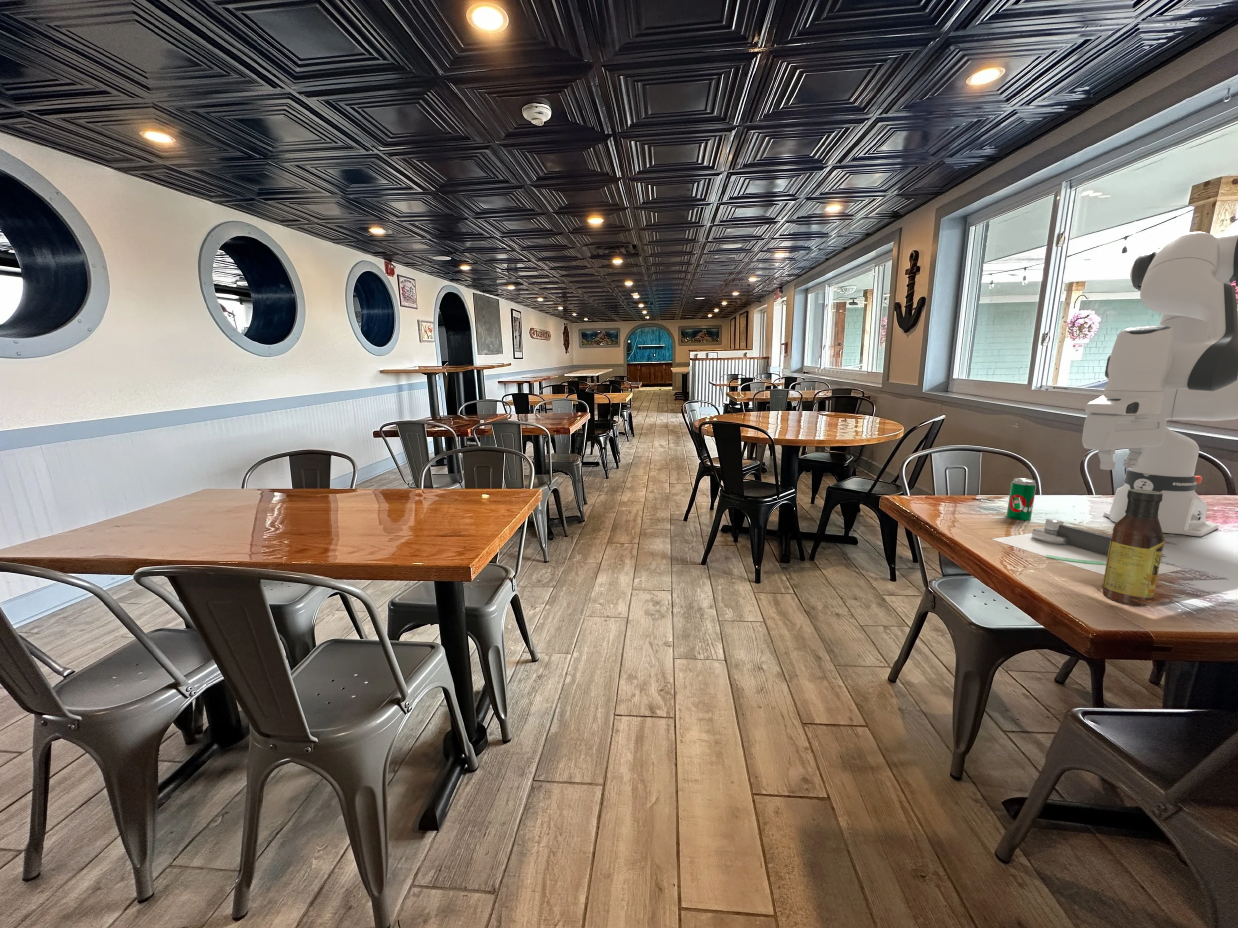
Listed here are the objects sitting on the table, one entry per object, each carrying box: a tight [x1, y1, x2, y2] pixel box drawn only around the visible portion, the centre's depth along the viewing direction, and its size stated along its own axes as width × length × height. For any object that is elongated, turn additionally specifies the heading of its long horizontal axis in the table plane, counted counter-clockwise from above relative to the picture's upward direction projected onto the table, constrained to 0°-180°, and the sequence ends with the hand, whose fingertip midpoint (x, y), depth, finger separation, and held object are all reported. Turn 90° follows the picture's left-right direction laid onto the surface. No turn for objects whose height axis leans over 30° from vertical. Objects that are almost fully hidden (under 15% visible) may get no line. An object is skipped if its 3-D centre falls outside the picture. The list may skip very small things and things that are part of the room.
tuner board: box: [991, 532, 1184, 576], centre depth 102 cm, size 19×24×2 cm
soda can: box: [1005, 477, 1037, 522], centre depth 126 cm, size 5×5×12 cm
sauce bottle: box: [1102, 489, 1165, 607], centre depth 82 cm, size 6×6×20 cm
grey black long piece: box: [1031, 518, 1112, 556], centre depth 104 cm, size 16×7×4 cm, turn 16°
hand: (1118, 468), depth 102 cm, fingers open, 6 cm apart
